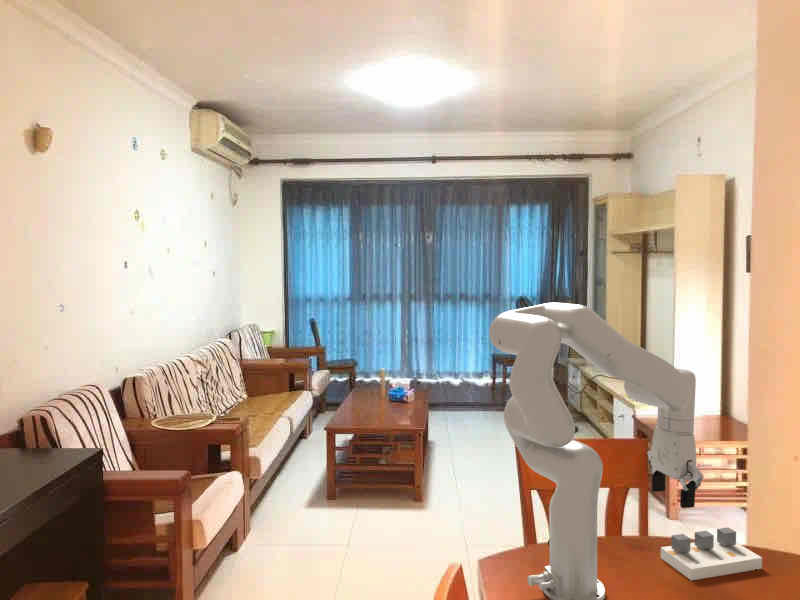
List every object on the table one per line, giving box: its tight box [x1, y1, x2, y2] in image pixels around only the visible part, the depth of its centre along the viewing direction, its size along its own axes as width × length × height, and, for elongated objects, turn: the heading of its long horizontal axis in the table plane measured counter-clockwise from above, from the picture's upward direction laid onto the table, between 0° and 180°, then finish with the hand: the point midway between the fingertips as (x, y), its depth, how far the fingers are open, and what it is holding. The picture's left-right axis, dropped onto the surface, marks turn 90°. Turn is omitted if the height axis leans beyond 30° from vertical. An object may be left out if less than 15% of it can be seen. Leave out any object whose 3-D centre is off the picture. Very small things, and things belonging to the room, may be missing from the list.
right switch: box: [716, 527, 737, 546], centre depth 139 cm, size 3×2×3 cm
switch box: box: [660, 538, 763, 581], centre depth 136 cm, size 18×10×3 cm, turn 103°
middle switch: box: [694, 530, 715, 550], centre depth 137 cm, size 3×2×3 cm
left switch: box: [670, 533, 691, 553], centre depth 136 cm, size 3×2×3 cm
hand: (672, 498), depth 137 cm, fingers open, 9 cm apart
